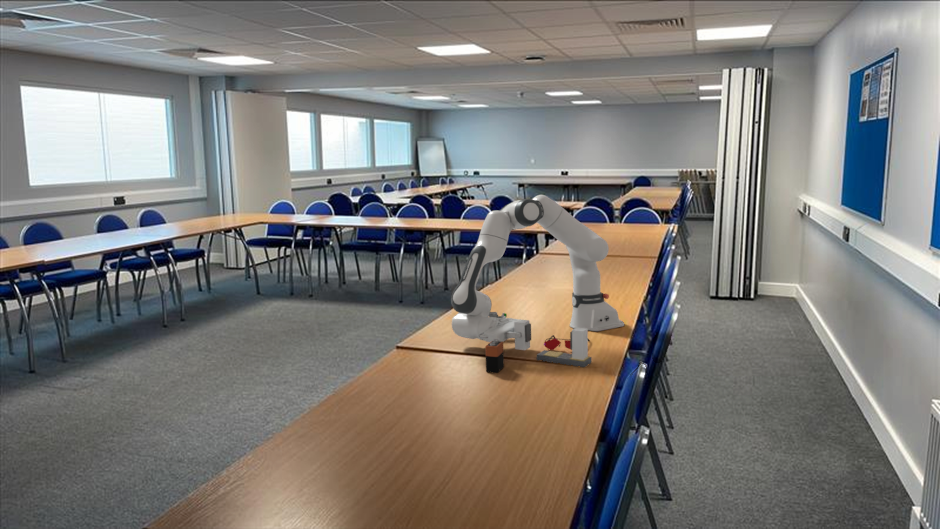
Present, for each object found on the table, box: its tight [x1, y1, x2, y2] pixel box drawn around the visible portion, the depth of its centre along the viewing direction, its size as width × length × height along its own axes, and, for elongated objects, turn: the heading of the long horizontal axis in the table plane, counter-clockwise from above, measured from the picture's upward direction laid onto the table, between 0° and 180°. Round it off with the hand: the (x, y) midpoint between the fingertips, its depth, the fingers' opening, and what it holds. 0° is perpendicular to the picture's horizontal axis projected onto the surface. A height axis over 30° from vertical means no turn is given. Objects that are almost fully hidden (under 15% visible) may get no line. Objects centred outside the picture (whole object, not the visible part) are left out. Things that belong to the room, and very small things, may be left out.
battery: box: [484, 339, 505, 374], centre depth 221 cm, size 4×7×10 cm, turn 159°
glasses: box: [543, 334, 591, 351], centre depth 246 cm, size 14×16×5 cm
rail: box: [536, 350, 593, 368], centre depth 228 cm, size 18×6×2 cm, turn 57°
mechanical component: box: [489, 311, 508, 318], centre depth 260 cm, size 3×10×10 cm, turn 79°
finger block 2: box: [569, 327, 589, 360], centre depth 224 cm, size 5×4×10 cm
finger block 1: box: [514, 318, 532, 351], centre depth 235 cm, size 5×4×10 cm
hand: (524, 333), depth 234 cm, fingers closed on finger block 1, 4 cm apart
